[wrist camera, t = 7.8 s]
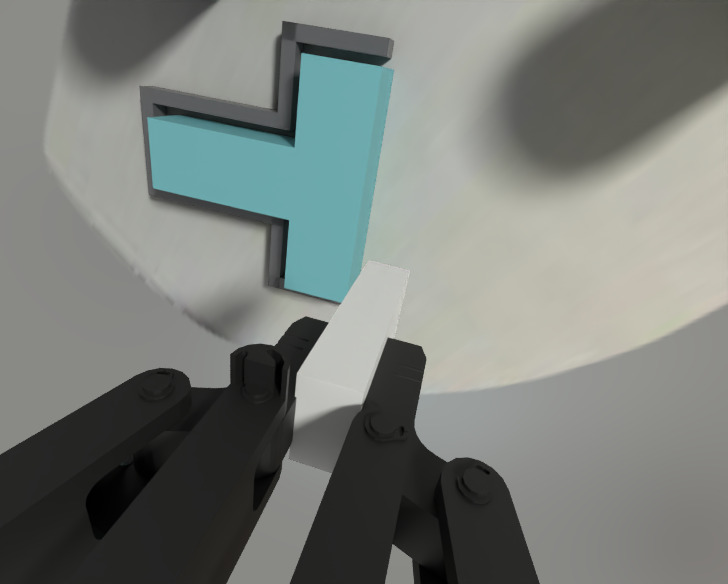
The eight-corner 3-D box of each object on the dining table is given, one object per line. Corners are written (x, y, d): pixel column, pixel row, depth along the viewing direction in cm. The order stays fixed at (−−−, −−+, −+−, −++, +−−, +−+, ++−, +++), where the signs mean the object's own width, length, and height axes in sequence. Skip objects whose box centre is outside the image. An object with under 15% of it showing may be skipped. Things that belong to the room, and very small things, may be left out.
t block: (394, 70, 28) (382, 66, 24) (358, 282, 35) (345, 303, 31) (179, 33, 30) (139, 25, 26) (188, 239, 37) (158, 255, 34)
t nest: (394, 41, 27) (389, 38, 26) (352, 298, 36) (347, 306, 34) (147, 0, 29) (131, -4, 28) (165, 249, 38) (154, 255, 37)
